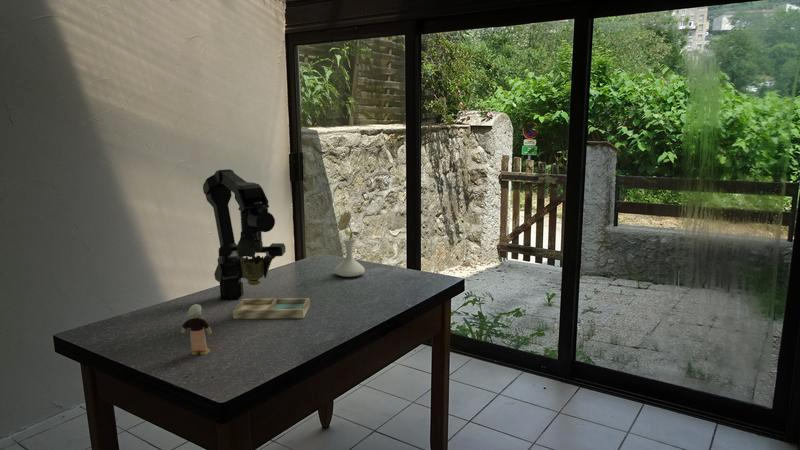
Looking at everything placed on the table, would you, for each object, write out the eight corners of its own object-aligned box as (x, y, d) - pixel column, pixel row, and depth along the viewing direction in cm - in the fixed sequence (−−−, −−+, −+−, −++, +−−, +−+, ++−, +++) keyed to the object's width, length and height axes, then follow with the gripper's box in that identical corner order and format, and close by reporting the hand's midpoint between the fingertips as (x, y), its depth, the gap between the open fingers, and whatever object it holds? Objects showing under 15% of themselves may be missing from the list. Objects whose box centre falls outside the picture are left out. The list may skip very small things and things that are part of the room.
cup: (244, 289, 165) (242, 262, 163) (239, 282, 171) (237, 257, 170) (269, 285, 168) (268, 259, 167) (263, 279, 175) (262, 254, 173)
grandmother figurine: (215, 348, 144) (212, 301, 142) (212, 354, 141) (209, 306, 138) (184, 350, 143) (180, 303, 141) (180, 356, 140) (176, 308, 137)
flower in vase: (334, 271, 216) (332, 207, 212) (364, 270, 218) (362, 206, 213) (334, 281, 204) (332, 213, 199) (366, 279, 205) (364, 212, 200)
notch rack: (233, 318, 166) (232, 310, 165) (243, 306, 177) (243, 298, 176) (303, 318, 166) (303, 310, 165) (309, 305, 177) (309, 298, 176)
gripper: (210, 232, 158) (214, 285, 161) (276, 232, 158) (279, 285, 161) (222, 224, 169) (226, 274, 172) (284, 224, 169) (287, 274, 172)
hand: (254, 277), depth 169 cm, fingers closed on cup, 6 cm apart
